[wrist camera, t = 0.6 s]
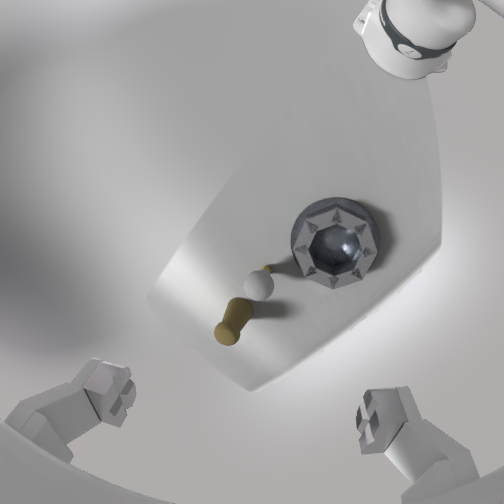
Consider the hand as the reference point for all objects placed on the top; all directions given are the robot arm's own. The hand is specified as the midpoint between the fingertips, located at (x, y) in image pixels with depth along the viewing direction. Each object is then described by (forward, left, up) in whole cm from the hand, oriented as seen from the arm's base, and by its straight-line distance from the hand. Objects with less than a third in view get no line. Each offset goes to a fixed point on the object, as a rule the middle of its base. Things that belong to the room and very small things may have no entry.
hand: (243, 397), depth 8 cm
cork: (+31, -4, -46) cm, 56 cm away
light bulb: (+19, -2, -46) cm, 50 cm away
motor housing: (+8, +8, -46) cm, 47 cm away
